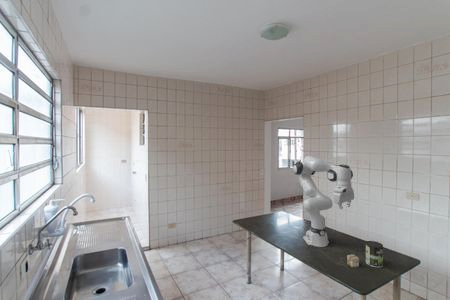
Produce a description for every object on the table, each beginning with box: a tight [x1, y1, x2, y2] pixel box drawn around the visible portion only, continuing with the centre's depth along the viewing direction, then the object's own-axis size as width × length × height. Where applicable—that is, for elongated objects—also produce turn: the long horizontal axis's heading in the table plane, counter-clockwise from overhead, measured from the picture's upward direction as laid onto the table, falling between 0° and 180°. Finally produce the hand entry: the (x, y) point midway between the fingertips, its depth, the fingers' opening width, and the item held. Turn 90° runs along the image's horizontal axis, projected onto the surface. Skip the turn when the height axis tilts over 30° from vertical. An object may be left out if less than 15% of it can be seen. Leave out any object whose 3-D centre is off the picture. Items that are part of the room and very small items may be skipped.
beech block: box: [346, 254, 360, 268], centre depth 164 cm, size 5×5×6 cm
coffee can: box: [365, 240, 384, 268], centre depth 164 cm, size 10×10×14 cm
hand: (344, 207), depth 165 cm, fingers open, 8 cm apart
